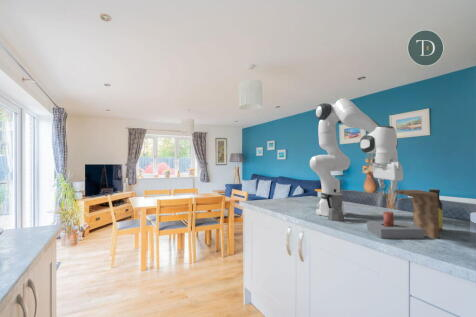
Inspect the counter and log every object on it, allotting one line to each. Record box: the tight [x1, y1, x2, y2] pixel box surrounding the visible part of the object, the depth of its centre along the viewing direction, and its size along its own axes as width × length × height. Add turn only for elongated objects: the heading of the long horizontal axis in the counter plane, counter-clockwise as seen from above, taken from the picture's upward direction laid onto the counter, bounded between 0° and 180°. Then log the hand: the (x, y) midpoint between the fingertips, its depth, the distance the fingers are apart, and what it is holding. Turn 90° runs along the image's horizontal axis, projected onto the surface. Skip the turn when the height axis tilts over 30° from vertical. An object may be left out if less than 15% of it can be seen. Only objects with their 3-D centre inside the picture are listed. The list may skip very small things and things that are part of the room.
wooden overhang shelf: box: [394, 189, 440, 239], centre depth 113 cm, size 14×10×20 cm
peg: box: [382, 211, 395, 227], centre depth 114 cm, size 4×4×10 cm
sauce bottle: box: [428, 188, 444, 232], centre depth 118 cm, size 7×6×20 cm
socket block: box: [366, 220, 426, 239], centre depth 113 cm, size 14×18×4 cm
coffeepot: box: [327, 189, 345, 222], centre depth 144 cm, size 15×9×18 cm, turn 129°
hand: (387, 189), depth 114 cm, fingers open, 8 cm apart
